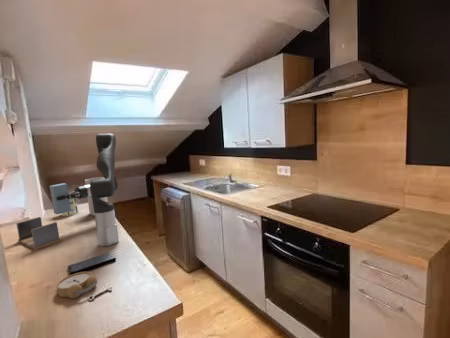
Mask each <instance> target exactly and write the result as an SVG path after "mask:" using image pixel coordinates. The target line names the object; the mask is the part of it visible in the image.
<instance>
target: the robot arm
mask: <svg viewBox="0 0 450 338" xmlns="http://www.w3.org/2000/svg"><path fill="white" fill-rule="evenodd" d="M95 144H96V145H95V146H96V148H97V152H98V155H97V157H96V163H95V164H96V168H97V170H98V171H99V172H100V173H101V174H102V177H104V178H105V179H99V180H92V181H91V182H90V185H86V184H84V185H80V186H76V187H75V188H74V190H68V194H66V195H63V196H58V197H57V200H58V201H59V200H63V199H73V198H76V199H78V200H81V199H85V198H87V197H90V196H92V202H93V208H94V215H93V216H94V220H95V221H94V222H95V229H96V234H97V235H96V236H97V241H98V242H97V243H98V246H99V247H100V246H101V247H110V246H112V245H114V244H116V243H119V241H120V239H119V231H118V225H117V222H116V221H117V220H116V213H115V206H114V203H112V202H110V201H108V202H105V201H103V200H101V199H100V198H103V197H107V198H109V197H113V196H114V195H115V192H116V191H117V190H118V186H119V184H118V181H117V177H116V175H115V173H116V172H115V166H116V160H115V159H116V157H115V156H116V155H115V154H116V153H115V152H116V146H117V139H116V135H115V134H114V133H97V134H96V136H95Z"/></svg>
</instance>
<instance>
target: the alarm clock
mask: <svg viewBox="0 0 450 338" xmlns="http://www.w3.org/2000/svg"><path fill="white" fill-rule="evenodd" d="M97 284H98V279H97V277H96V276H95V275H93V274H92V272H91V271H80V272H76V273H73V274H70V275H67V276H66V277H64V278H62V279H60V280H59V281H58V282H57V283H56V285H55V286H56V291H57V295H58V297H61V298H70V299H76V298H79V297H80V296H81V295H82V294H84V293H87V292H89V291H90V290H92V289H94V288H95V287H96V286H97Z"/></svg>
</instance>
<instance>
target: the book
mask: <svg viewBox="0 0 450 338" xmlns="http://www.w3.org/2000/svg"><path fill="white" fill-rule="evenodd" d="M49 191H50V196H51V203H52V209H53V214H54V215H60V214H61V215H62V213H65V212H68V211H71V207H70V201H69V199H63V200H59V201H58V200H57V197H58V196H63V195H66V194H68V191H69V190H68V184H67V183H64V182H63V183H57V184H53V185H49Z"/></svg>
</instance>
